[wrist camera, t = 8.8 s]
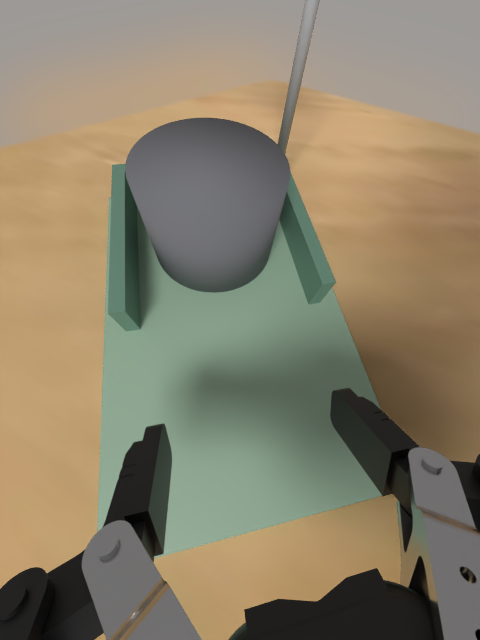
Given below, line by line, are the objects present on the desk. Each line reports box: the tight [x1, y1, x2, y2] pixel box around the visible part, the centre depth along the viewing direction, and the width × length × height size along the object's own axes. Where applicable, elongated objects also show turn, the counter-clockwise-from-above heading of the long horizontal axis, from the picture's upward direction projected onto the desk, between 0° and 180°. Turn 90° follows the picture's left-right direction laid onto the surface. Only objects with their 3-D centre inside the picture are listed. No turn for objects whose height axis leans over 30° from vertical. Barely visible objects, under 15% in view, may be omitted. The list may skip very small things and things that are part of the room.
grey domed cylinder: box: [125, 118, 290, 293], centre depth 18 cm, size 10×10×7 cm
